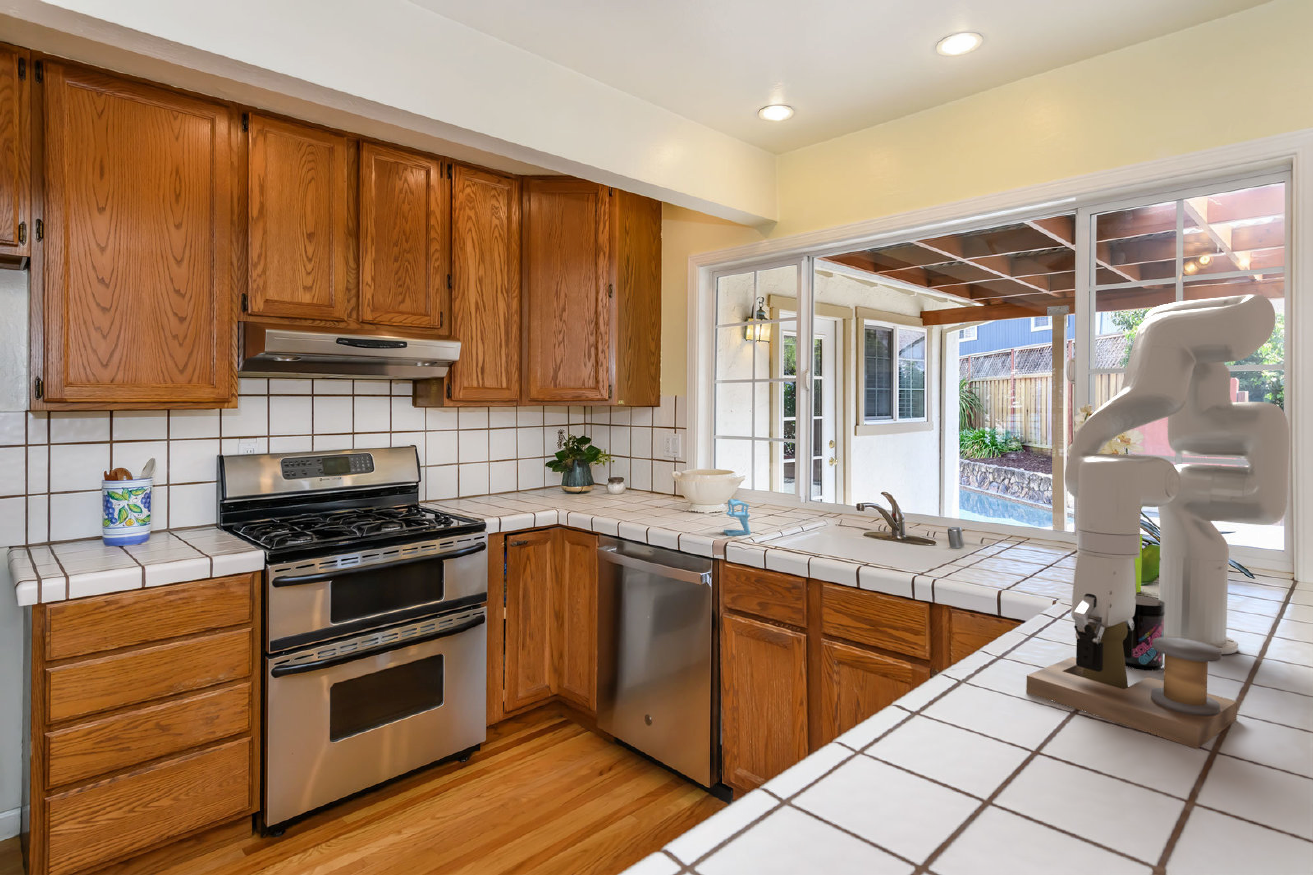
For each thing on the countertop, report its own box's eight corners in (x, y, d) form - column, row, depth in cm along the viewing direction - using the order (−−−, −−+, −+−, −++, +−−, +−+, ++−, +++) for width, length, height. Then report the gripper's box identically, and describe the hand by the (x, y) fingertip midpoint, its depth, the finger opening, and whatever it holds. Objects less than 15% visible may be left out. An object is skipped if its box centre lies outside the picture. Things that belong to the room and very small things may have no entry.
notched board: (1072, 672, 105) (1074, 608, 105) (1236, 720, 89) (1238, 643, 88) (1026, 692, 97) (1027, 622, 97) (1197, 748, 81) (1199, 664, 81)
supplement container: (1120, 669, 107) (1122, 603, 107) (1105, 655, 113) (1107, 593, 113) (1170, 674, 105) (1172, 607, 105) (1152, 659, 112) (1154, 596, 111)
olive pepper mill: (1082, 679, 102) (1084, 607, 102) (1131, 690, 99) (1133, 615, 98) (1076, 691, 98) (1078, 616, 97) (1127, 703, 94) (1129, 624, 94)
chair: (752, 535, 228) (753, 500, 228) (728, 536, 227) (729, 500, 227) (746, 532, 236) (747, 497, 236) (723, 532, 235) (723, 497, 235)
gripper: (1105, 534, 105) (1102, 643, 106) (1050, 545, 96) (1048, 665, 96) (1162, 542, 99) (1159, 658, 100) (1110, 554, 89) (1107, 683, 90)
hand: (1104, 661), depth 98 cm, fingers open, 9 cm apart
